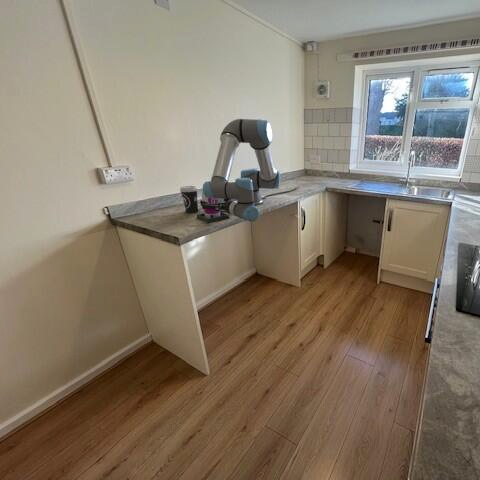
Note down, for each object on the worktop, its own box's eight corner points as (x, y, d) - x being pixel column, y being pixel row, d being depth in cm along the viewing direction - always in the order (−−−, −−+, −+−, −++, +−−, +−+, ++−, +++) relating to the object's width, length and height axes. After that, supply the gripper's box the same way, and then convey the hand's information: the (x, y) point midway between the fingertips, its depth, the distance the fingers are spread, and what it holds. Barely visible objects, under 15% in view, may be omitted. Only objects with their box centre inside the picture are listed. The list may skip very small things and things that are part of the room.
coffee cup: (196, 214, 153) (192, 188, 147) (180, 213, 153) (175, 188, 147) (203, 209, 162) (200, 185, 156) (188, 209, 162) (184, 185, 156)
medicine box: (227, 209, 164) (225, 196, 161) (227, 211, 160) (225, 197, 157) (213, 210, 161) (212, 196, 158) (213, 212, 158) (212, 198, 154)
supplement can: (223, 217, 146) (220, 191, 141) (208, 220, 141) (204, 192, 135) (216, 214, 151) (213, 188, 146) (202, 216, 146) (198, 190, 140)
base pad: (217, 213, 155) (217, 210, 154) (229, 218, 147) (228, 214, 146) (196, 218, 146) (196, 214, 145) (208, 223, 138) (207, 219, 137)
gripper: (212, 220, 121) (191, 211, 133) (256, 210, 139) (234, 203, 151) (210, 205, 118) (189, 197, 131) (255, 197, 136) (232, 191, 148)
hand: (213, 200), depth 141 cm, fingers open, 13 cm apart
